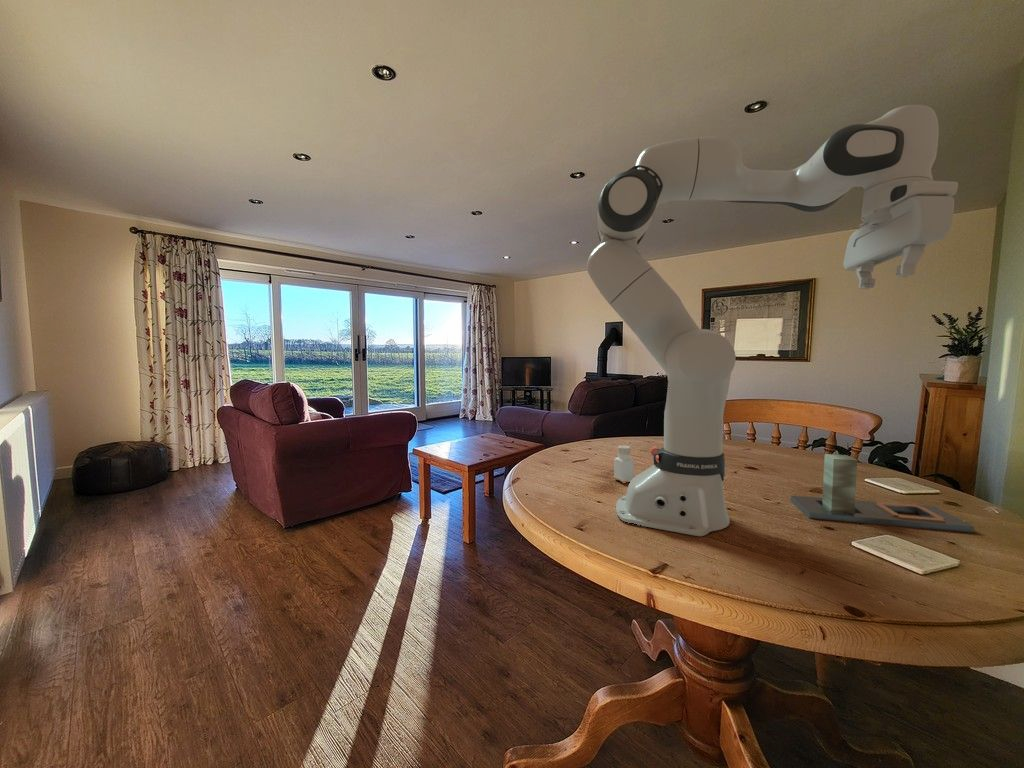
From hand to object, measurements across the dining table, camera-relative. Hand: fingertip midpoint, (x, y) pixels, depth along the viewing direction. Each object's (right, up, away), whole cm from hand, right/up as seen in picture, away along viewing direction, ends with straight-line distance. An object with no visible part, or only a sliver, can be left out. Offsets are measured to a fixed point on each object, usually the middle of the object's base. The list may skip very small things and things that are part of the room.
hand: (884, 282), depth 70 cm
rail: (+8, -46, +11) cm, 48 cm away
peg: (+2, -46, +13) cm, 47 cm away
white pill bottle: (-37, -45, +35) cm, 68 cm away
